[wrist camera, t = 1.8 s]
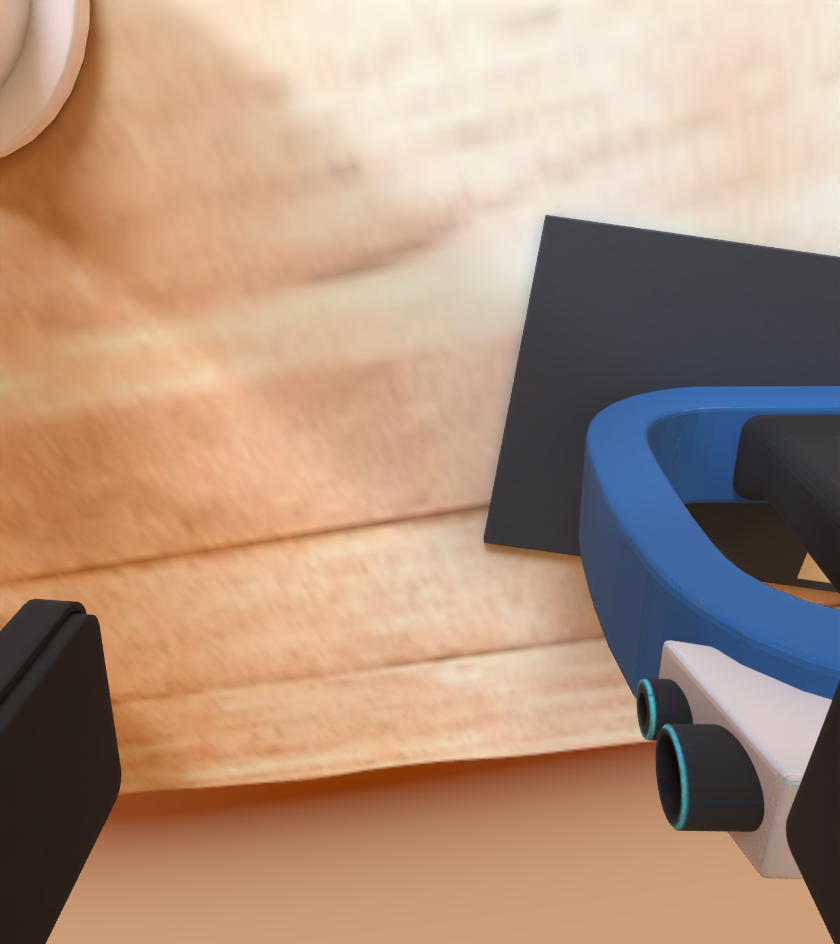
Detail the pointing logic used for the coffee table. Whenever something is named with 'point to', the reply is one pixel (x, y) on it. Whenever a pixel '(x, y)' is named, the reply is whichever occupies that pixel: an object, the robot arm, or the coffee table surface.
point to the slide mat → (656, 369)
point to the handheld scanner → (717, 596)
